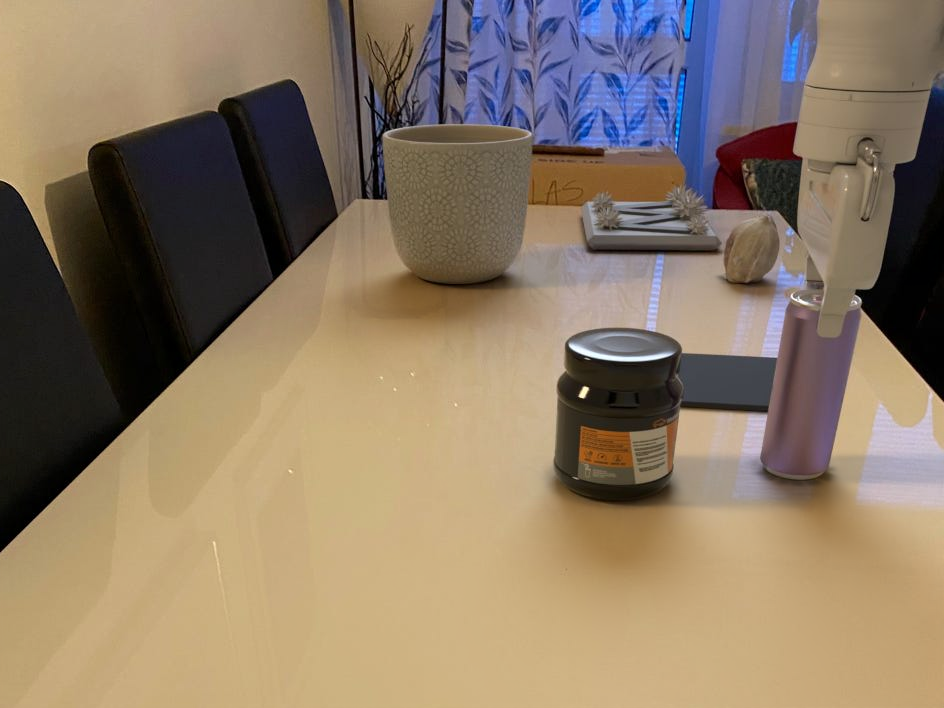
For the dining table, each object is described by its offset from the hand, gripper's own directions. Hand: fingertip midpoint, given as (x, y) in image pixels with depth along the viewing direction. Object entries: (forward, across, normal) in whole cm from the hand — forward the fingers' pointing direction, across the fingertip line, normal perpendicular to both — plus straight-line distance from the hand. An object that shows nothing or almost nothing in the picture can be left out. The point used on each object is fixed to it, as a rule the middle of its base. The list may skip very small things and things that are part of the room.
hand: (819, 318), depth 82 cm
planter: (+14, +64, +42) cm, 78 cm away
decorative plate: (+14, +98, +15) cm, 100 cm away
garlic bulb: (+14, +67, 0) cm, 68 cm away
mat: (+13, +22, +3) cm, 26 cm away
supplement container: (+14, -5, +16) cm, 21 cm away
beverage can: (+14, 0, 0) cm, 14 cm away
